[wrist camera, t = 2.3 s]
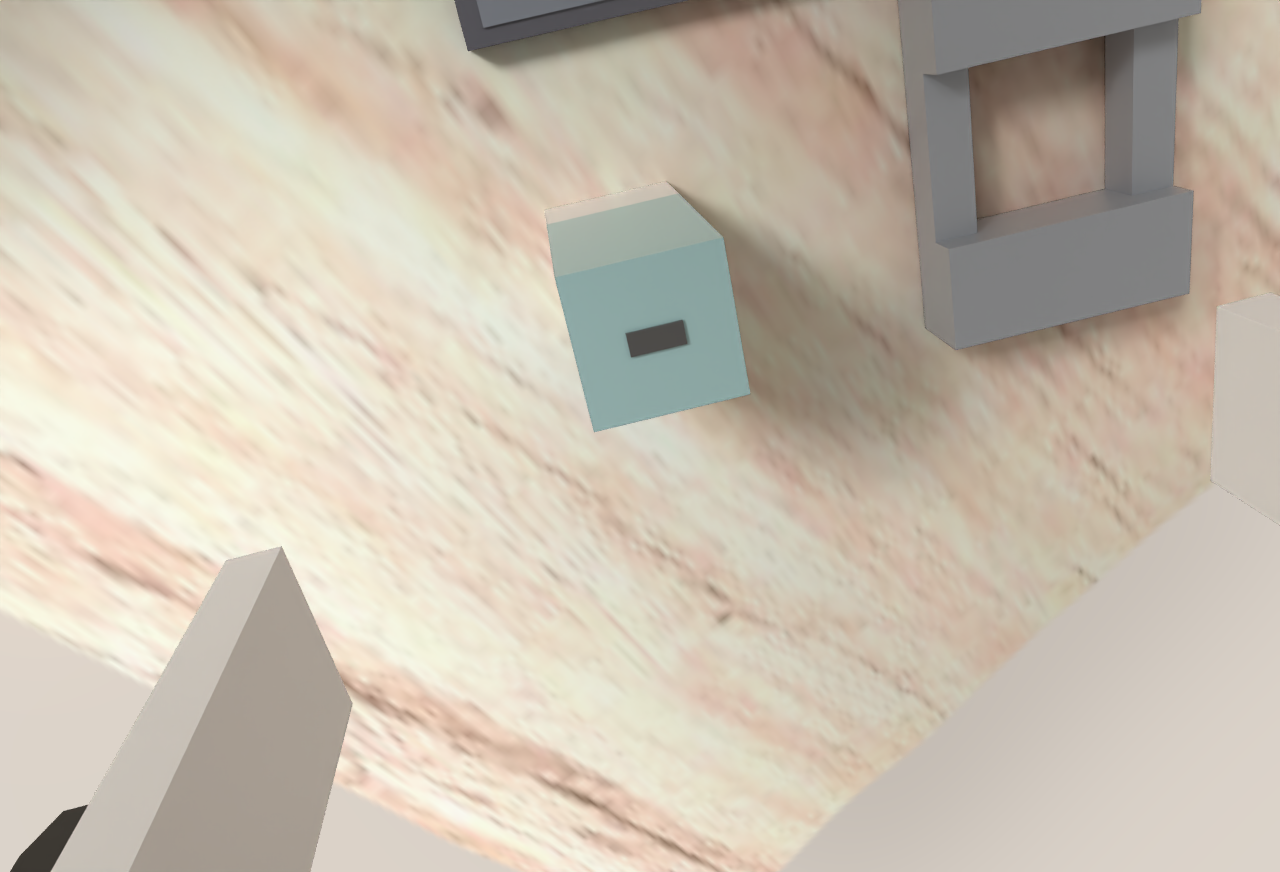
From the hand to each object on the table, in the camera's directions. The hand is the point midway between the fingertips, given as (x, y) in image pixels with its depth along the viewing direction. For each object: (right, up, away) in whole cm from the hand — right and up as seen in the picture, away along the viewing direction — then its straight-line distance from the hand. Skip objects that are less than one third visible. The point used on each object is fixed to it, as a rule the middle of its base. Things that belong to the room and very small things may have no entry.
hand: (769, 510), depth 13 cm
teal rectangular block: (-3, +7, +17) cm, 19 cm away
